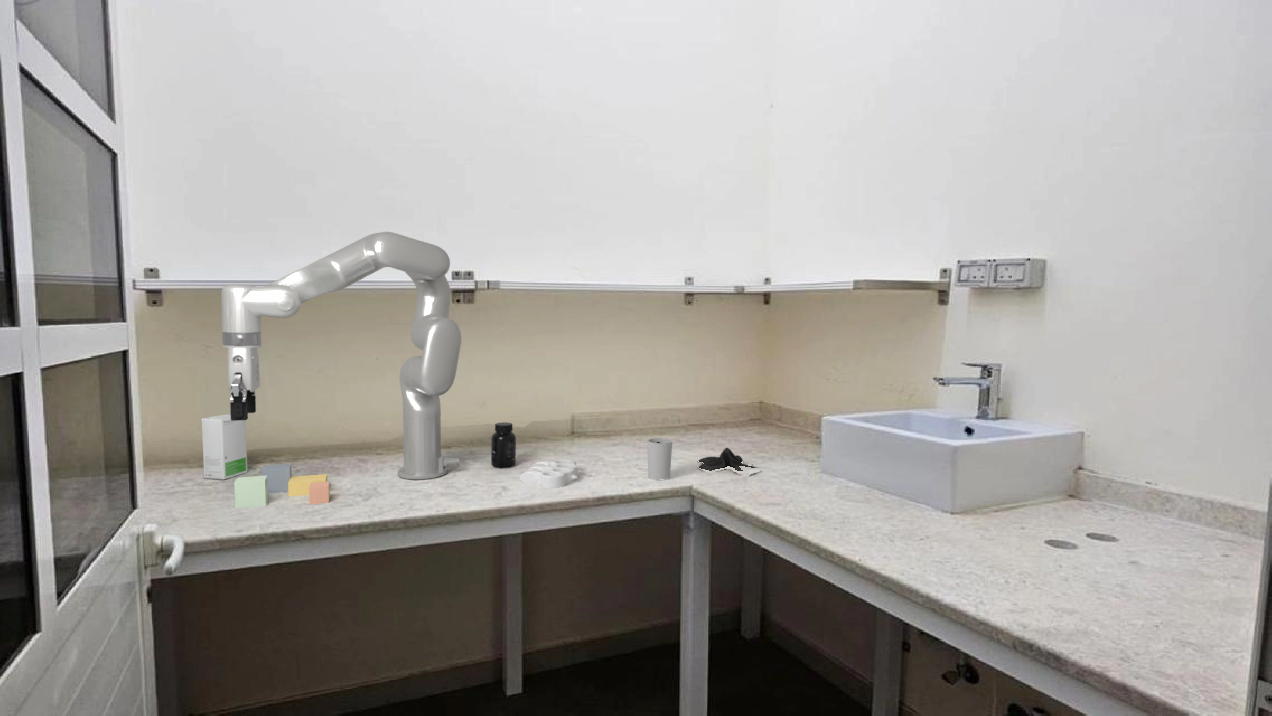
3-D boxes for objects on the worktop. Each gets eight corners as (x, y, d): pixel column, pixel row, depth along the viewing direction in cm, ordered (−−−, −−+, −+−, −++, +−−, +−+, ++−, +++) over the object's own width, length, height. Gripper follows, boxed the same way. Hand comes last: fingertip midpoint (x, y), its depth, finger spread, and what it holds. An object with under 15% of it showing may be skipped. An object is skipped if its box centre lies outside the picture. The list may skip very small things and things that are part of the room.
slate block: (292, 487, 166) (291, 463, 165) (290, 492, 162) (289, 467, 162) (264, 489, 164) (263, 465, 163) (262, 494, 160) (261, 469, 159)
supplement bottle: (486, 467, 188) (486, 424, 187) (500, 461, 195) (500, 420, 193) (507, 469, 186) (507, 427, 185) (520, 464, 192) (520, 422, 191)
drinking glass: (641, 477, 181) (642, 440, 180) (657, 472, 185) (658, 437, 184) (660, 482, 176) (661, 444, 175) (676, 477, 181) (677, 440, 180)
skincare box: (223, 480, 171) (221, 420, 169) (201, 478, 172) (199, 418, 170) (249, 472, 179) (246, 414, 177) (227, 470, 180) (225, 413, 179)
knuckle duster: (536, 469, 188) (587, 472, 186) (516, 487, 170) (572, 490, 168) (536, 457, 188) (587, 460, 186) (516, 474, 170) (572, 477, 168)
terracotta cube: (329, 498, 158) (329, 481, 158) (328, 503, 154) (328, 486, 154) (310, 499, 157) (310, 482, 156) (309, 504, 153) (309, 487, 153)
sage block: (268, 500, 155) (267, 475, 155) (265, 506, 151) (264, 480, 151) (238, 503, 153) (237, 477, 152) (235, 508, 149) (234, 482, 149)
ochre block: (327, 487, 167) (327, 473, 167) (325, 494, 161) (325, 480, 161) (291, 490, 164) (291, 476, 164) (288, 497, 159) (288, 483, 158)
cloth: (765, 479, 183) (766, 457, 182) (697, 477, 184) (697, 455, 183) (756, 459, 205) (756, 439, 204) (695, 457, 206) (695, 437, 205)
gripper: (254, 343, 143) (255, 422, 145) (267, 338, 159) (268, 409, 161) (213, 343, 141) (215, 424, 142) (231, 338, 157) (232, 410, 158)
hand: (243, 416), depth 152 cm, fingers open, 9 cm apart
